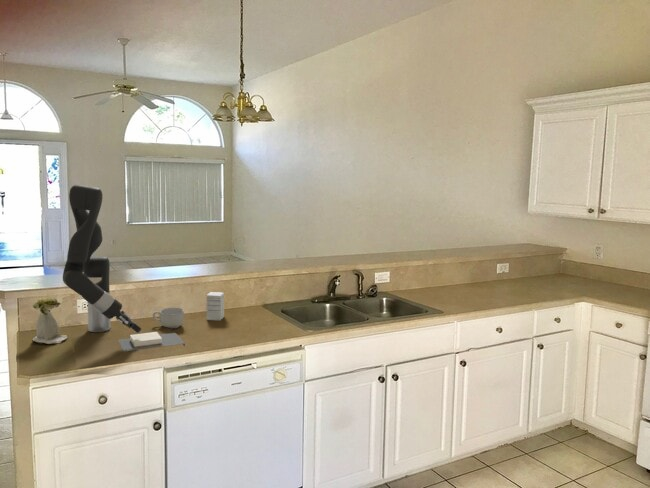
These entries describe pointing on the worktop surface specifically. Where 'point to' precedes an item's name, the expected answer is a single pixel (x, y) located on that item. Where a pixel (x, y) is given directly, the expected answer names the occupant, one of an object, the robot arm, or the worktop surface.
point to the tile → (146, 339)
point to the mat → (166, 341)
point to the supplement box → (215, 306)
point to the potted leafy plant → (47, 322)
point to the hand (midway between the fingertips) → (139, 330)
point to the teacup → (170, 317)
